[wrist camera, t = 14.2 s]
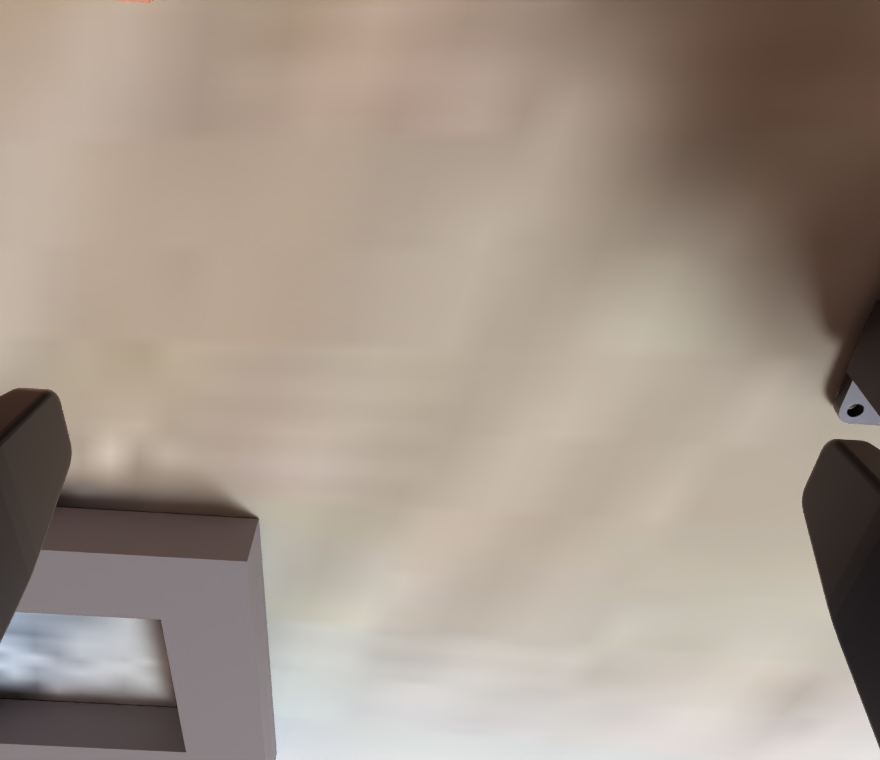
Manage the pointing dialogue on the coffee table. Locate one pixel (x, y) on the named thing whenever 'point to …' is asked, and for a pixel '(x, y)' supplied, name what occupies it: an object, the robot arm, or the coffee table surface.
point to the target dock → (144, 0)
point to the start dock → (184, 627)
